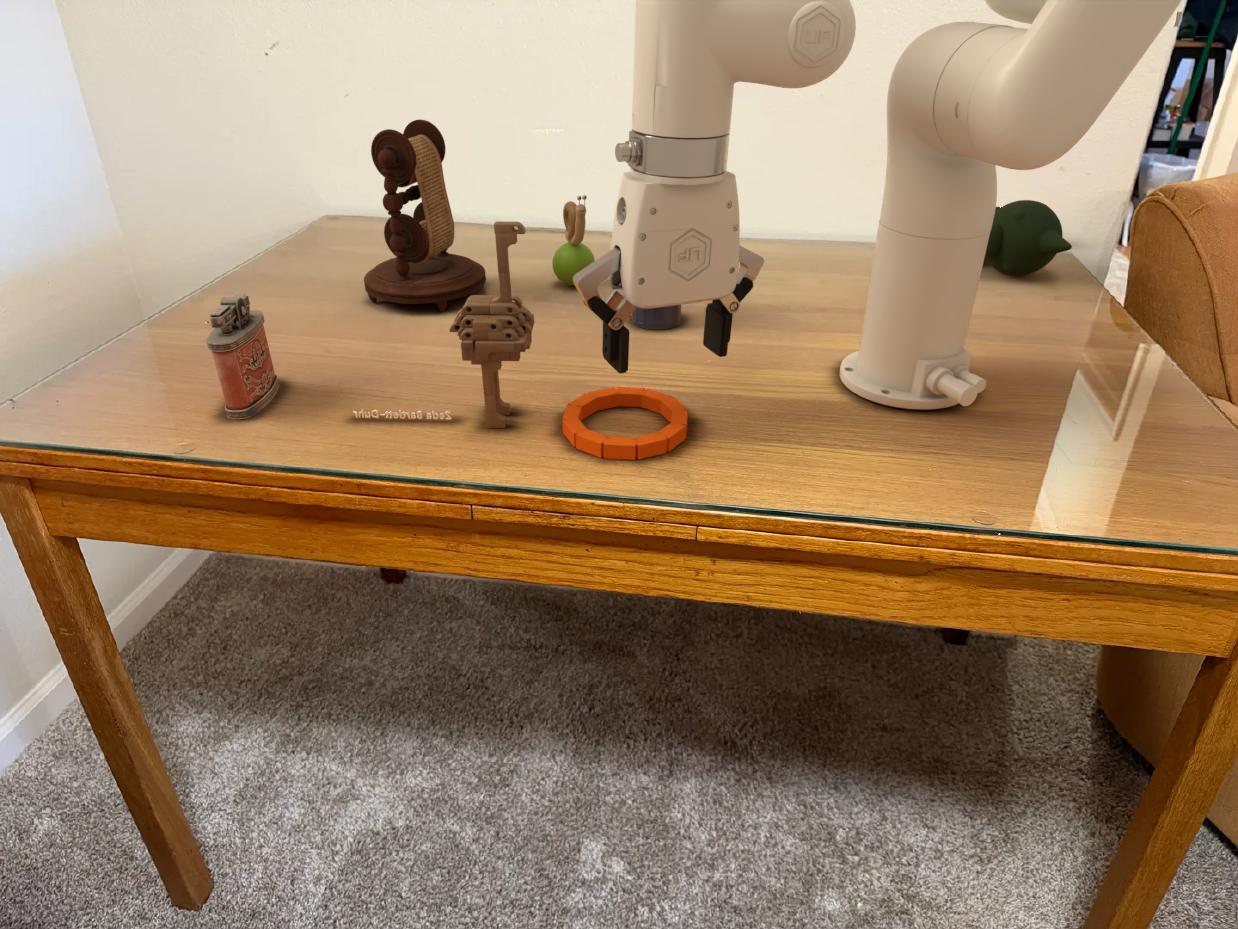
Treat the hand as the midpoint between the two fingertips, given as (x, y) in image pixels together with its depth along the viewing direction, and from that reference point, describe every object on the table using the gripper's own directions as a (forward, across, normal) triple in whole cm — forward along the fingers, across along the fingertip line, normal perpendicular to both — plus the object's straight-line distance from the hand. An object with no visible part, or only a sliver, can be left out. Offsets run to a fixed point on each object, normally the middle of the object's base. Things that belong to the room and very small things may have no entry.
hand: (666, 359), depth 74 cm
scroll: (+7, -12, +42) cm, 44 cm away
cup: (+6, +10, +22) cm, 25 cm away
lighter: (+7, -34, +20) cm, 40 cm away
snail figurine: (+6, +6, +37) cm, 38 cm away
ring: (+6, -4, 0) cm, 7 cm away
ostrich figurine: (+7, -18, +8) cm, 21 cm away
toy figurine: (0, +56, +24) cm, 61 cm away
